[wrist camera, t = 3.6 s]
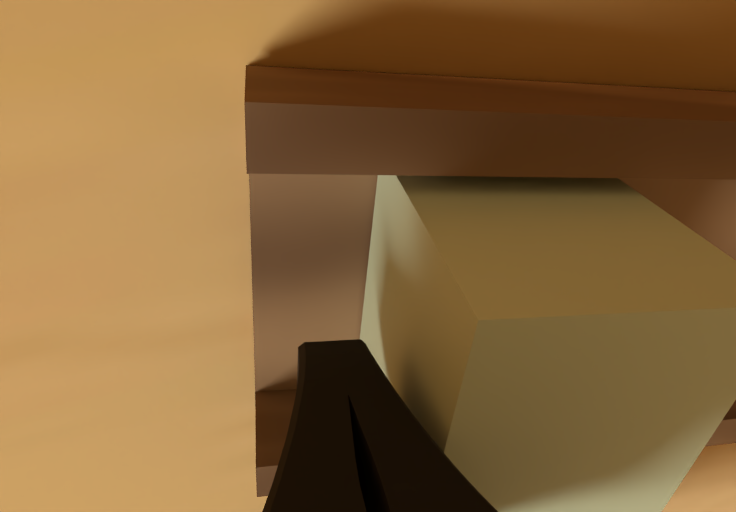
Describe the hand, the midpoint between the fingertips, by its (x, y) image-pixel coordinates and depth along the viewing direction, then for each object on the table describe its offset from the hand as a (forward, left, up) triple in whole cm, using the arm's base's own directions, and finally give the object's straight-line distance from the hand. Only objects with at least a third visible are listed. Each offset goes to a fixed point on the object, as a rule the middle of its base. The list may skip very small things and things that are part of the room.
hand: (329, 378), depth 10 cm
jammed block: (0, -4, -3) cm, 5 cm away
